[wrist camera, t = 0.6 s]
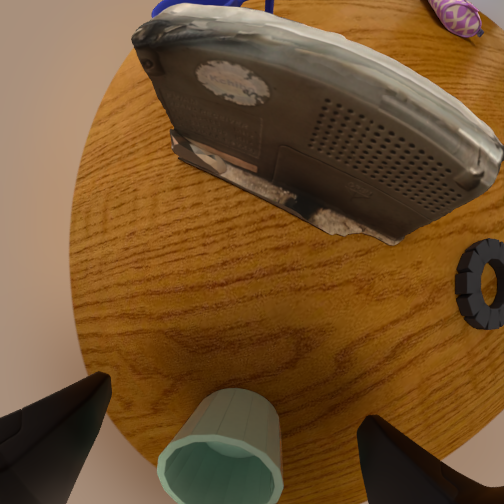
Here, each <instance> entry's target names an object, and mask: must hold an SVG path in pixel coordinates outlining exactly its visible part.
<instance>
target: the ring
mask: <svg viewBox="0 0 504 504" xmlns="http://www.w3.org/2000/svg"><path fill="white" fill-rule="evenodd" d="M487 262H488V263H489V264H490V265H491V266H492V267H493V268H494V270H495V273H496V276H497V279H498V292H497V295H496V298H495V300H494V303H493V304H492V305H491V306H490V307H489V306H488V305H487V304H486V303H485V302H484V299H483V296H482V293H481V274H482V271H483V268H484V265H485V264H486V263H487ZM457 271H458V272H459V273H460V274H456V289H455V294H461V295H460V296H459V297H458V298H457V299H456V300H457V303H458V306H459V309H460V312H461V315H462V316H465V318H464V320H466V321H467V322H468V323H469V324H470V325H471V326H472V327H473V328H476V329H484V330H491V329H499V327H502V326H503V325H504V243H503V242H499V240H496V239H490V238H488V239H484V240H481V241H479V242H476V243H474V244H473V245H471V246H470V247H469V248H468V249H466V250H465V253H464V254H462V257H461V260H460V262H459V265H458V267H457Z"/></svg>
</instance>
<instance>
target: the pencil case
mask: <svg viewBox="0 0 504 504" xmlns="http://www.w3.org/2000/svg"><path fill="white" fill-rule="evenodd" d="M428 2H429V3H430V5H431V6H432V8H433V9H434V11H435V13H436V14H437V16H438V18H439V19H440V21H441V22H442V24H443V25H444V26H445V27H446V28H447V29H448V30H449V31H450V32H452V33H454V34H456V35H458V36H462V37H472V36H474V35H476V34H477V35H478V37H481V36H482V34H483V33H484V32H483V30H482V29H481V20H480V17H479V15H478V11H479V10H478V9H477V8H476V7H474V6H473V5H472V3H471V2H468V1H467V0H428Z"/></svg>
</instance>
